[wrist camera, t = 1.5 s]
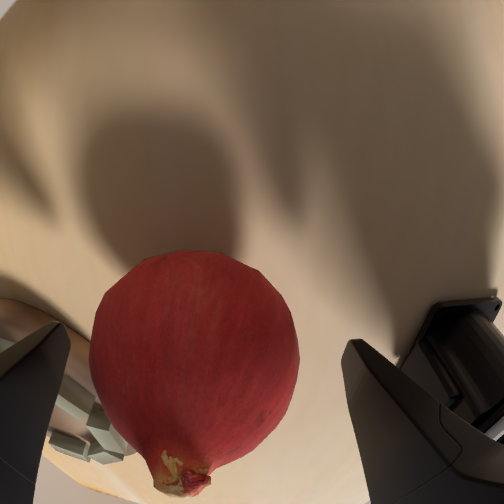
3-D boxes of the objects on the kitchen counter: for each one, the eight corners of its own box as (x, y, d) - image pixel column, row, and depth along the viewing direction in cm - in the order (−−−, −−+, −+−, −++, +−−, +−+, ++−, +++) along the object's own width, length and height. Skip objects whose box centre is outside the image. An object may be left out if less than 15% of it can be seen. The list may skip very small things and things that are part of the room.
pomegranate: (269, 343, 12) (291, 519, 5) (141, 332, 12) (93, 498, 5) (291, 219, 10) (389, 441, 3) (128, 207, 9) (-23, 386, 2)
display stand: (117, 316, 11) (93, 369, 9) (164, 448, 18) (159, 481, 15) (-45, 285, 10) (-70, 312, 8) (27, 411, 17) (17, 436, 14)
